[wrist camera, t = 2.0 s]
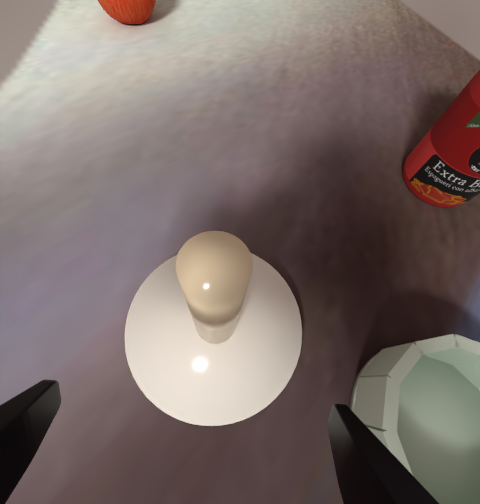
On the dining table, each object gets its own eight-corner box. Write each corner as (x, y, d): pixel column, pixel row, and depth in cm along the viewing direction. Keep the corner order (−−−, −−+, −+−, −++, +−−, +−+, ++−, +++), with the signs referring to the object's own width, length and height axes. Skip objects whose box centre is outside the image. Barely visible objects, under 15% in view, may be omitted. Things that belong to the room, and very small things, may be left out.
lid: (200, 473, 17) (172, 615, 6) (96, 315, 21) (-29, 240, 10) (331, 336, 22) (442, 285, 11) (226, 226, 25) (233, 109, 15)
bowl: (457, 585, 16) (539, 654, 12) (317, 418, 19) (344, 427, 15) (532, 435, 19) (614, 449, 15) (405, 317, 23) (445, 302, 19)
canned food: (397, 197, 28) (492, 97, 18) (401, 145, 32) (484, 38, 22) (471, 220, 28) (611, 129, 18) (468, 165, 31) (583, 63, 21)
